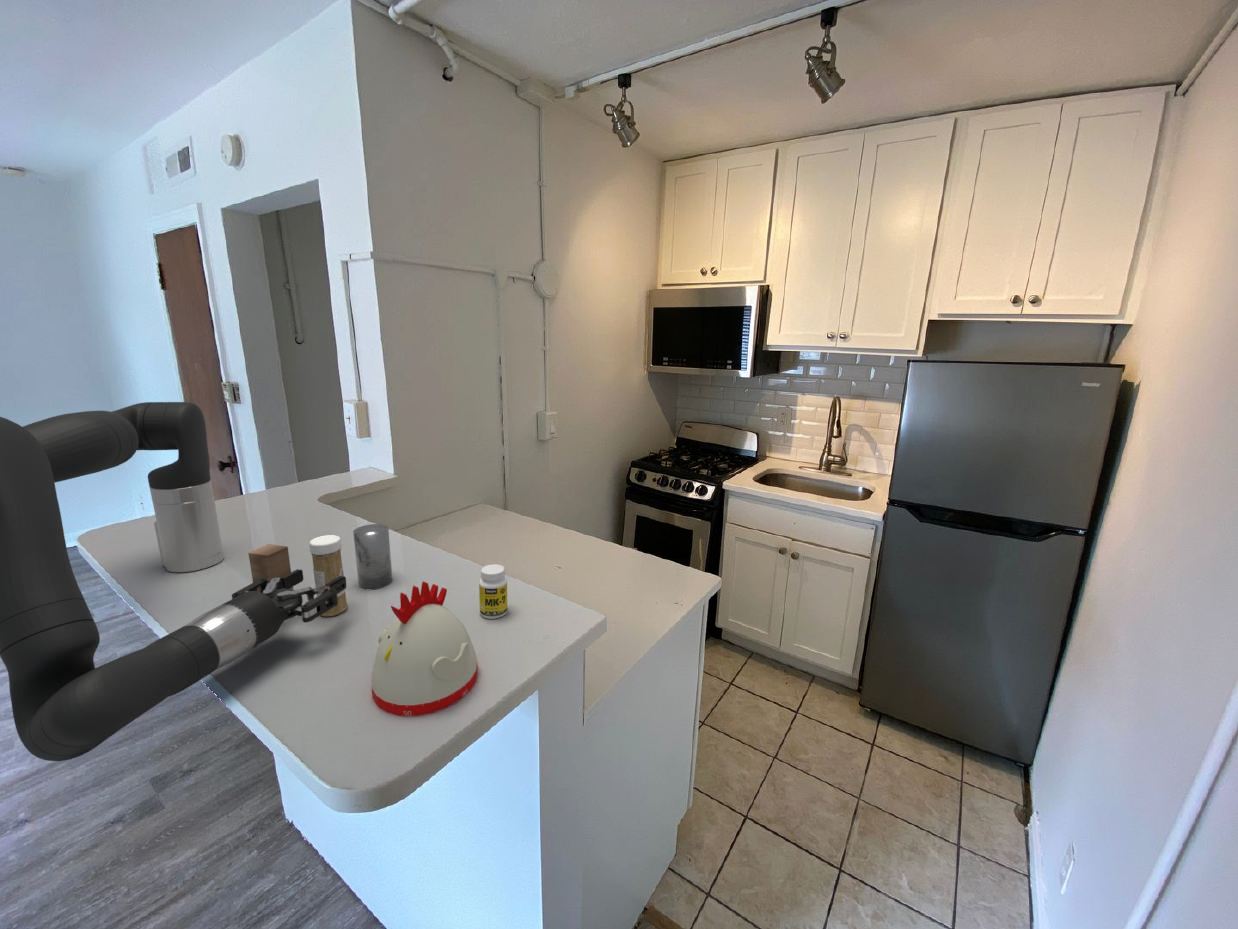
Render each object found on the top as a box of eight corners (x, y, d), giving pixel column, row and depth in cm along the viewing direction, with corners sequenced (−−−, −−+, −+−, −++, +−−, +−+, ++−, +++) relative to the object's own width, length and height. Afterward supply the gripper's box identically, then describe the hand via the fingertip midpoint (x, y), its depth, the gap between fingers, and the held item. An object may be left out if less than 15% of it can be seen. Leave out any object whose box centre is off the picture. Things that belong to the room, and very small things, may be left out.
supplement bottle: (483, 622, 85) (481, 577, 83) (477, 609, 89) (475, 565, 87) (510, 616, 87) (509, 572, 85) (503, 603, 91) (502, 561, 89)
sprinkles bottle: (349, 613, 86) (341, 541, 83) (318, 620, 84) (309, 546, 81) (346, 601, 90) (339, 532, 87) (317, 608, 87) (308, 537, 84)
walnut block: (256, 605, 88) (248, 552, 85) (276, 594, 92) (268, 544, 89) (275, 608, 87) (267, 555, 85) (294, 597, 91) (287, 546, 88)
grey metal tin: (351, 587, 95) (345, 533, 92) (372, 573, 101) (368, 522, 98) (378, 591, 94) (374, 537, 91) (399, 577, 100) (395, 526, 97)
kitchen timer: (351, 689, 68) (340, 590, 64) (434, 640, 80) (429, 554, 76) (416, 732, 61) (408, 623, 57) (497, 672, 73) (495, 578, 69)
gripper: (270, 613, 66) (357, 562, 82) (184, 598, 69) (284, 552, 84) (277, 662, 68) (361, 603, 83) (194, 646, 71) (289, 592, 86)
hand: (322, 577), depth 84 cm, fingers open, 8 cm apart
